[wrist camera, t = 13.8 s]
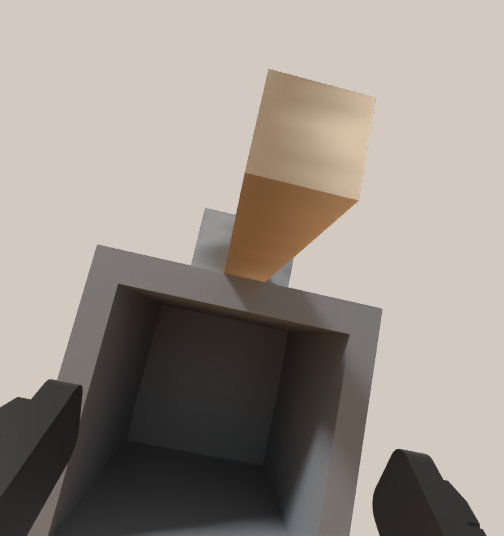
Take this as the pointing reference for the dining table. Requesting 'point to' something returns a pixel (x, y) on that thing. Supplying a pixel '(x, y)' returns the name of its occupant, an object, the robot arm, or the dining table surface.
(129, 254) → the tall grey box
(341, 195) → the tan and grey block
